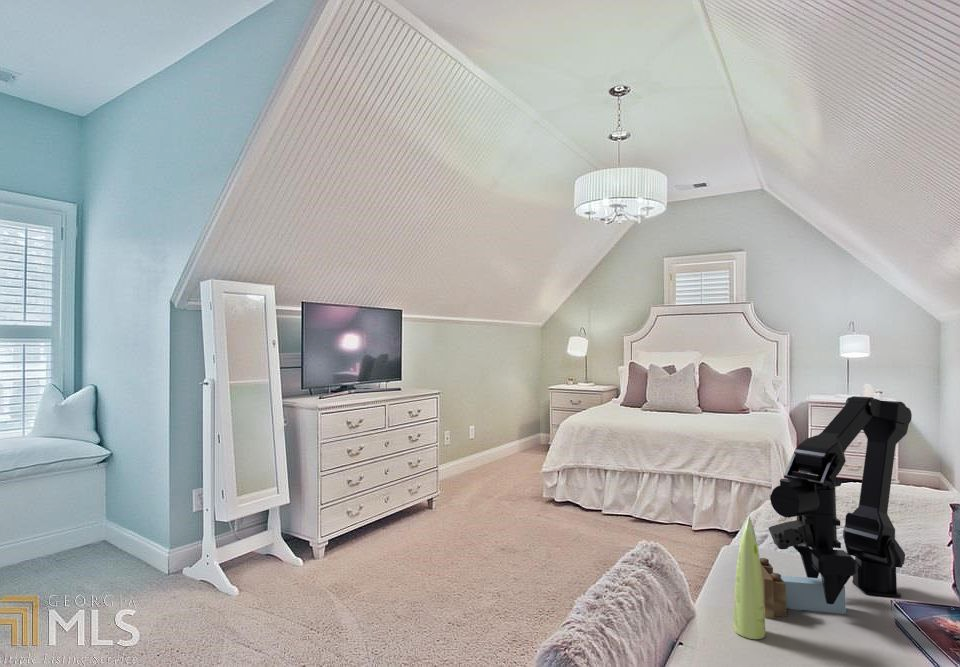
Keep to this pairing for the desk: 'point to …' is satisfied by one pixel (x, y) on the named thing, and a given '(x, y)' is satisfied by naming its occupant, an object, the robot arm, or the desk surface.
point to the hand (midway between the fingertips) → (820, 593)
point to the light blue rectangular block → (810, 595)
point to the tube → (749, 588)
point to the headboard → (773, 591)
